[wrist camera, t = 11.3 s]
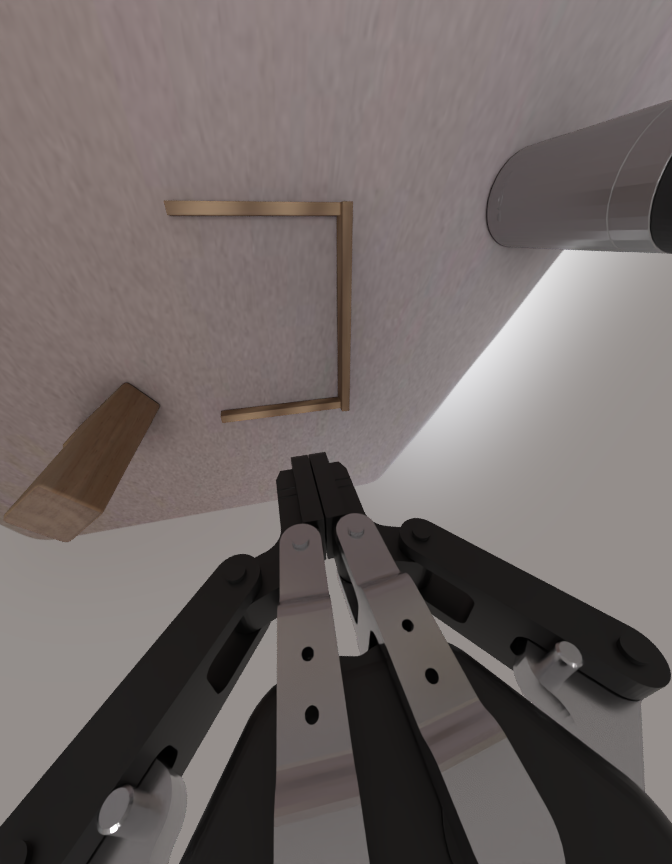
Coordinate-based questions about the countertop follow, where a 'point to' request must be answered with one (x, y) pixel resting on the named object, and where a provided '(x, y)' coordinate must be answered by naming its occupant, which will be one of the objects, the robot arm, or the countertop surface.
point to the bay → (343, 288)
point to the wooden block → (86, 468)
